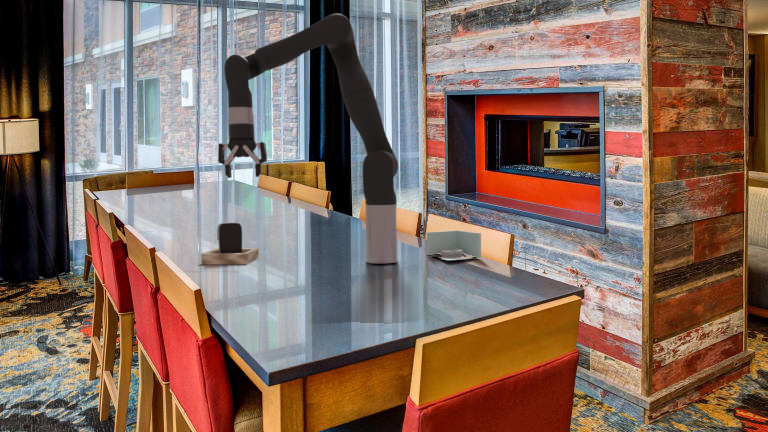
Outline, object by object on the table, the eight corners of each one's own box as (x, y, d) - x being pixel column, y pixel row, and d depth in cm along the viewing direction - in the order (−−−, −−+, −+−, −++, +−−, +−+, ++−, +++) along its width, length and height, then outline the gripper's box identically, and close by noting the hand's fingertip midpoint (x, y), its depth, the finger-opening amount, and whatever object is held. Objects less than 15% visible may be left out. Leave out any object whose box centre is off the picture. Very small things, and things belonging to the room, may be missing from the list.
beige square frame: (258, 258, 191) (258, 248, 191) (247, 264, 178) (247, 253, 178) (216, 258, 192) (215, 248, 192) (201, 264, 179) (201, 253, 178)
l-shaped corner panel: (426, 256, 194) (426, 232, 194) (458, 253, 200) (458, 230, 199) (448, 260, 183) (448, 235, 183) (480, 257, 189) (480, 233, 189)
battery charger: (239, 258, 188) (239, 221, 188) (243, 260, 185) (242, 222, 184) (216, 260, 185) (215, 222, 184) (219, 262, 182) (218, 223, 181)
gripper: (267, 123, 190) (269, 176, 191) (221, 125, 190) (223, 178, 191) (262, 121, 182) (264, 176, 183) (214, 123, 183) (216, 177, 184)
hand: (243, 177), depth 187 cm, fingers open, 8 cm apart
